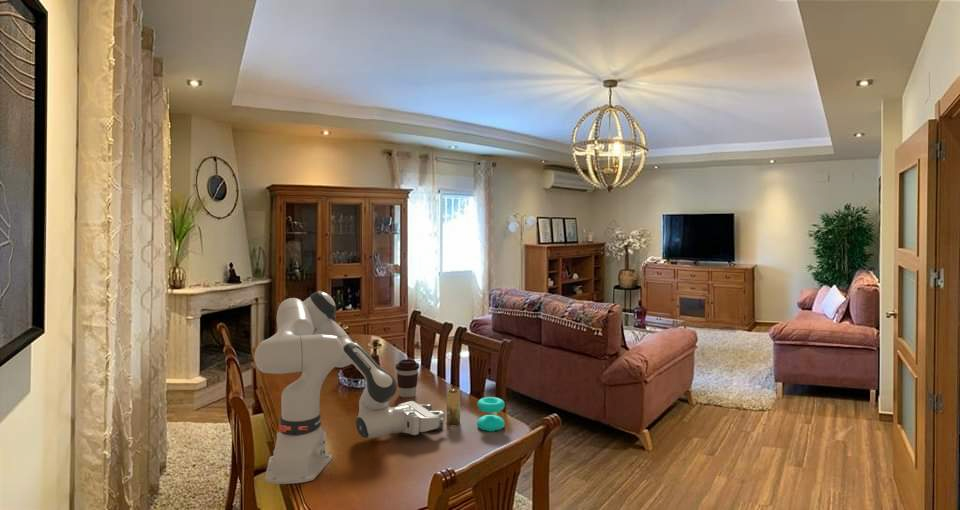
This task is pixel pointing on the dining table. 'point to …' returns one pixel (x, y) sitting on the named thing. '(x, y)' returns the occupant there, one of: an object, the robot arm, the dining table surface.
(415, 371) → the coffee cup
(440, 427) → the carrier
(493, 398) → the donuts
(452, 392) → the tan bottle
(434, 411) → the ring seat
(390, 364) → the dining table surface
